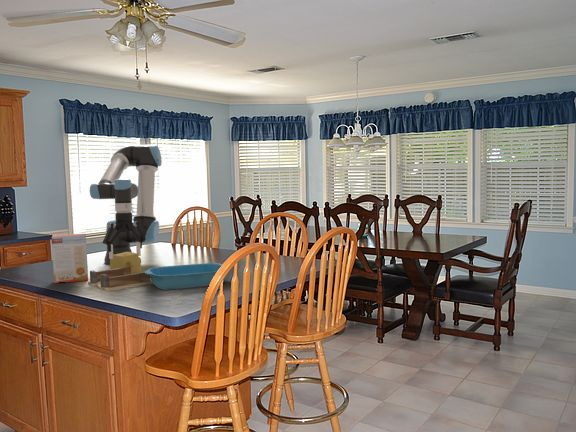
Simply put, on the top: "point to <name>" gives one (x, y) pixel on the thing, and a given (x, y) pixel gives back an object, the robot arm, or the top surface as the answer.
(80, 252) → the cracker box
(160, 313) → the top surface
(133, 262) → the cheese
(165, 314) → the top surface
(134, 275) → the slot board
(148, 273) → the casserole dish
